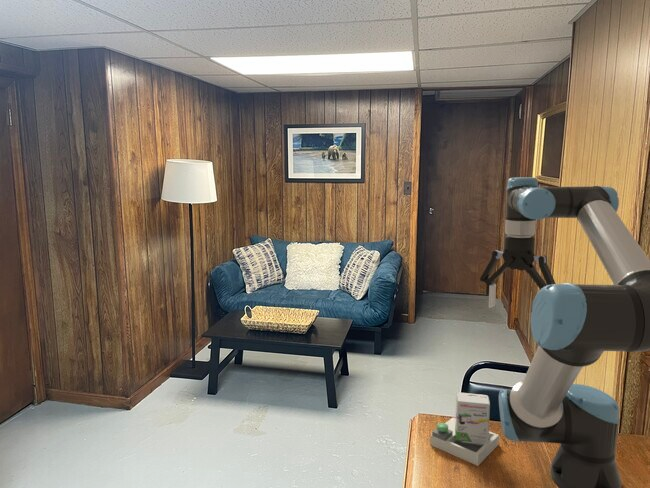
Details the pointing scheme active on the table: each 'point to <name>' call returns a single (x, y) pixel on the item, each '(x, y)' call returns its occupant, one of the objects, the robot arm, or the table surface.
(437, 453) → the table surface
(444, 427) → the button
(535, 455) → the table surface
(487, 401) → the ink box
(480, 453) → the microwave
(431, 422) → the table surface
